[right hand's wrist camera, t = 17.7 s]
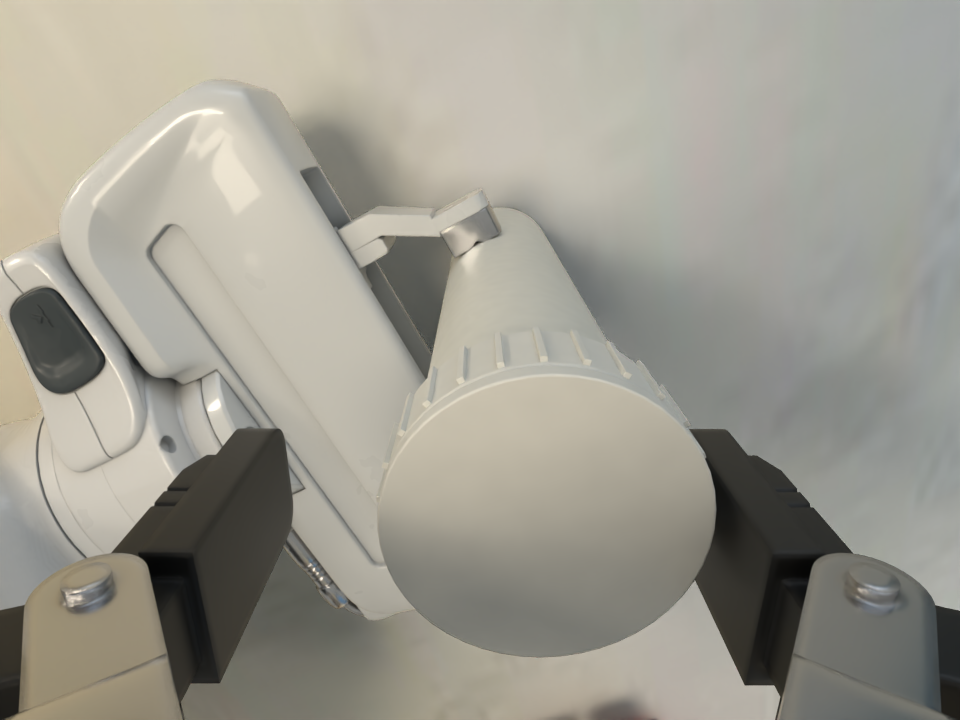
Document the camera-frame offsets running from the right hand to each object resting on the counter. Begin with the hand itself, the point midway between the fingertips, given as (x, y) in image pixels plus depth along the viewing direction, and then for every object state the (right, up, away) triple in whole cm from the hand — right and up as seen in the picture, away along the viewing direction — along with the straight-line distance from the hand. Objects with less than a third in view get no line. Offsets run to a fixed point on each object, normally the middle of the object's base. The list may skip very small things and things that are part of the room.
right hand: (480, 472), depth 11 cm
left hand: (+2, +5, +10) cm, 11 cm away
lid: (+1, 0, -2) cm, 2 cm away
